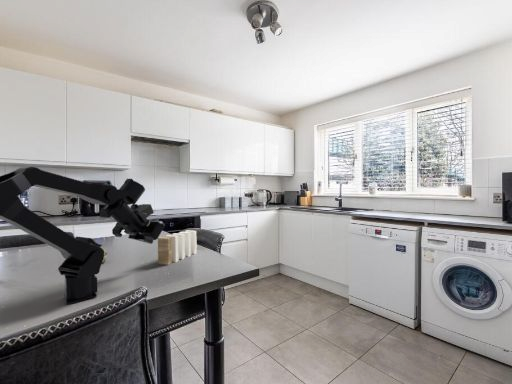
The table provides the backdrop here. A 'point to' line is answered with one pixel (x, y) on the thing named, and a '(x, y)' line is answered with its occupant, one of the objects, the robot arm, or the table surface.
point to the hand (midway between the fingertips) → (151, 242)
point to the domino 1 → (164, 251)
